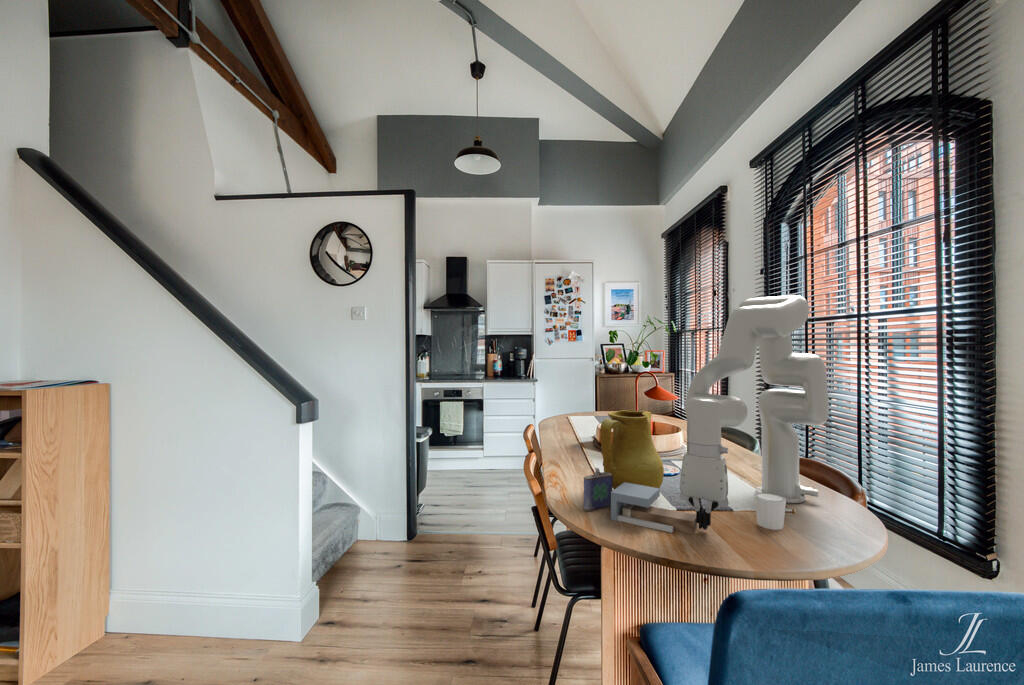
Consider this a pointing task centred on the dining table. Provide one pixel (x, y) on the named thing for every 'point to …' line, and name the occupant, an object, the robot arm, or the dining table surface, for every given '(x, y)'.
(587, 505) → the flask
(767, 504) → the white short cylinder
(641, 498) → the grey block with rails
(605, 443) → the pitcher
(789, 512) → the dining table surface
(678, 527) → the walnut slat
